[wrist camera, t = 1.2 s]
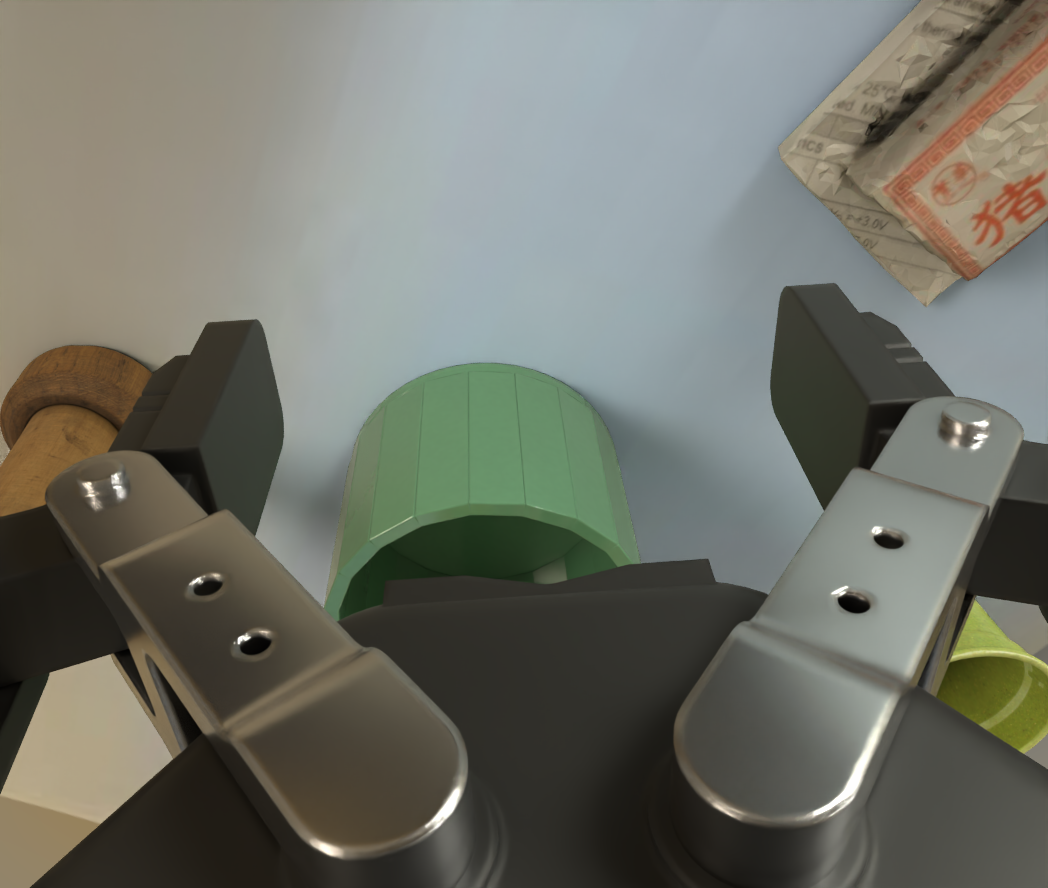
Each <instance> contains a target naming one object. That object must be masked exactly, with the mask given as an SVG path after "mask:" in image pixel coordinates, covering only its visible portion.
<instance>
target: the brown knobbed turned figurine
mask: <svg viewBox="0 0 1048 888" xmlns="http://www.w3.org/2000/svg"><path fill="white" fill-rule="evenodd" d="M151 375H152V373H151V372H150V371H149V370H148V369H146V368H145V367H144V366H142V365H141V364H140V363H138V362H137V361H135V360H133V359H132V358H130V357H128V356H126V355H124V354H121V353H119V352H116V351H114V350H110V349H107V348H103V347H98V346H76V345H70V346H64V347H59V348H55V349H53V350H50V351H47V352H45V353H43V354H42V355H40V356H38V357H37V358H35V359H34V360H33V361H32V362H31V363H30V364H29V365H28V366H27V367H26V368H25V369H24V371H23V372H22V373H21V375H20V376H19V378H18V379H17V381H16V382H15V384H14V385H13V386H12V388H11V389H10V391H9V392H8V394H7V395H6V397H5V399H4V402H3V404H2V408H1V412H0V426H1V431H2V434H3V437H4V439H5V441H6V443H7V445H8V447H9V449H10V450H11V451H10V452H9V454H8V456H7V457H6V459H5V460H4V462H3V463H2V465H1V466H0V517H2V516H6V515H10V514H14V513H18V512H21V511H25V510H29V509H33V508H36V507H40V506H43V505H45V504H46V501H45V492H46V489H47V487H48V485H49V484H50V482H51V481H52V480H53V479H54V478H55V477H56V476H57V475H58V474H59V473H61V472H62V471H63V470H65V469H66V468H68V467H70V466H71V465H73V464H75V463H77V462H79V461H81V460H84V459H86V458H89V457H92V456H95V455H99V454H102V453H107V452H108V450H109V448H110V447H111V445H112V443H113V441H114V440H115V438H116V436H117V434H118V433H119V431H120V429H121V427H122V426H123V424H124V422H125V421H126V419H127V417H128V415H129V414H130V412H133V407H134V405H135V403H136V401H137V400H138V398H139V397H140V396H142V391H143V389H144V388H145V386H146V384H147V382H148V381H149V379H150V377H151Z"/></svg>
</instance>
